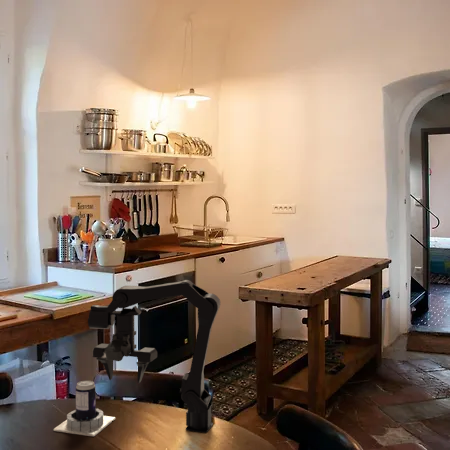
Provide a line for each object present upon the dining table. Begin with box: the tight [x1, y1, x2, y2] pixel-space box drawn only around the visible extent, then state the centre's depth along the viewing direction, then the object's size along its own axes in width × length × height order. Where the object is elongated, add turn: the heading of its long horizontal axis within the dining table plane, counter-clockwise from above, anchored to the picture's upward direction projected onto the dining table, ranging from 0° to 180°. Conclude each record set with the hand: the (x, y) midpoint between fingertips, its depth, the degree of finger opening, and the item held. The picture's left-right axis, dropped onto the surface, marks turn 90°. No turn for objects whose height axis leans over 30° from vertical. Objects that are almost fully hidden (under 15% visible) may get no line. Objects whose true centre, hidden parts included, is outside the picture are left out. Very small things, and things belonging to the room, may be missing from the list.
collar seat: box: [53, 408, 116, 437], centre depth 173 cm, size 13×13×3 cm
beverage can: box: [75, 380, 97, 420], centre depth 173 cm, size 6×6×12 cm
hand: (124, 381), depth 173 cm, fingers open, 9 cm apart
